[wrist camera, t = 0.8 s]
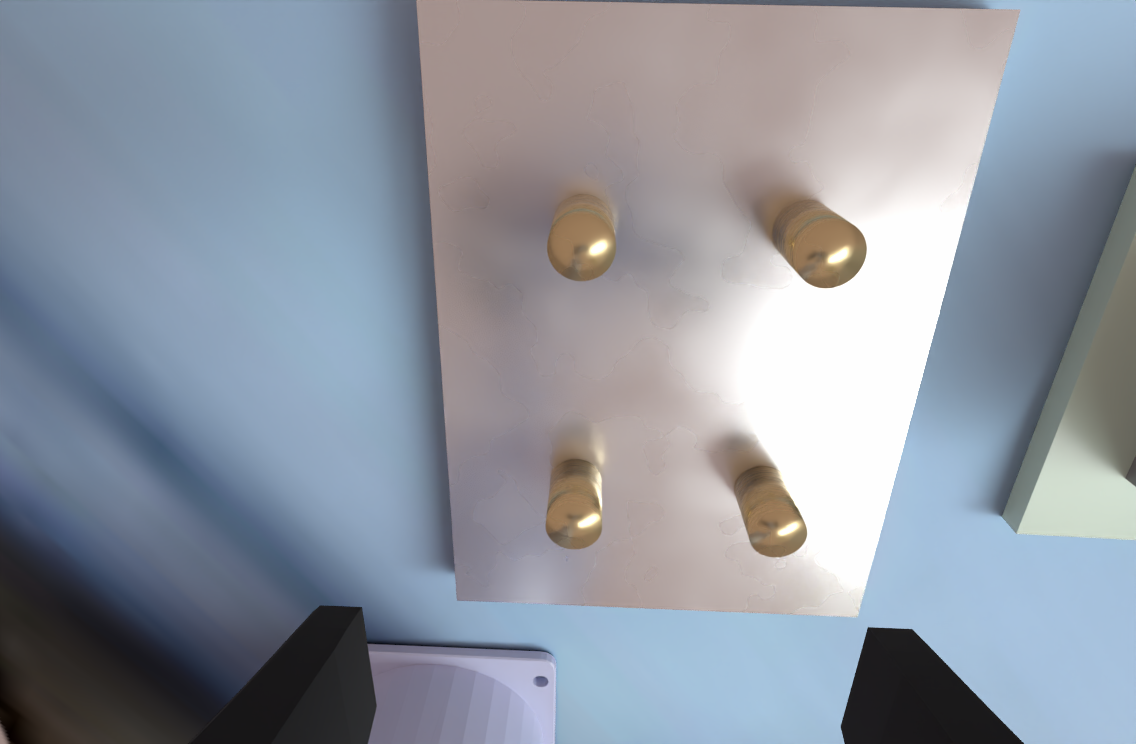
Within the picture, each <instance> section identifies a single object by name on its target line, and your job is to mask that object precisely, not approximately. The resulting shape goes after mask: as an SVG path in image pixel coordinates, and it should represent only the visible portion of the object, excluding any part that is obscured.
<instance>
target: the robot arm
mask: <svg viewBox="0 0 1136 744" xmlns="http://www.w3.org/2000/svg"><path fill="white" fill-rule="evenodd" d="M538 676H543V677H538ZM555 711H556V660H555V658H554V657H553V656H552V655H551V654H549V653H547V652H542V651H520V650H497V649H474V648H452V647H429V646H406V645H384V644H367V638H366V631H365V625H364V618H363V612H362V607H344V606H319V607H318V608H317V609H316V610H314V611H313V612H312V613H311V615H310V616H309V617H308V618H307V619H306V620H305V621H304V622H303V623H302V624H301V625H300V626H299V628H298V629H297V630H296V631H295V632H294V633H293V634H292V635H291V636H290V637H289V638H288V640H287V641H286V642H285V643H284V644H283V645H282V646H281V647H280V648H279V649H278V650H277V652H276V653H275V654H274V655H273V656H272V657H271V658H270V659H269V660H268V661H267V662H266V663H265V665H264V666H263V667H262V668H261V669H260V670H259V671H258V672H257V673H256V674H255V675H254V676H253V677H252V678H251V679H250V681H249V682H248V683H247V684H246V685H245V686H244V687H243V688H242V689H241V690H240V691H239V692H238V693H237V694H236V695H235V696H234V697H233V698H232V699H231V700H230V701H229V702H228V703H227V704H226V705H225V707H224V708H223V709H222V710H221V711H220V712H219V713H218V714H217V715H216V716H215V717H214V718H213V719H212V720H211V721H210V722H209V723H208V724H207V725H206V726H205V727H204V728H203V729H202V730H201V731H200V732H199V733H198V734H197V735H196V736H195V737H194V738H193V739H192V740H191V741H190V742H189V743H188V744H555ZM841 730H842V734H843V738H844V742H845V744H1024V743H1023V742H1022V741H1021V740H1020V739H1019V738H1018V737H1017V736H1016V735H1015V734H1014V733H1013V732H1012V731H1011V730H1010V729H1009V728H1008V727H1007V726H1006V725H1005V724H1004V723H1003V722H1002V721H1001V720H1000V719H999V718H998V717H997V716H996V715H995V714H994V713H993V712H992V711H991V710H990V709H989V708H988V707H987V706H986V705H985V704H984V702H983V701H982V700H981V699H980V698H979V697H978V696H977V695H976V694H975V693H974V692H973V691H972V690H971V689H970V688H969V687H968V686H967V685H966V684H965V683H964V682H963V681H962V680H961V679H960V678H959V677H958V676H957V675H956V674H955V673H954V672H953V671H952V670H951V668H950V667H949V666H948V665H947V664H946V663H945V662H944V661H943V660H942V659H941V658H940V657H939V656H938V655H937V654H936V653H935V652H934V651H933V650H932V649H931V648H930V647H929V646H928V645H927V644H926V643H925V642H924V641H923V640H922V639H921V638H920V637H919V636H918V635H917V634H916V633H915V632H914V631H913V630H912V629H895V628H870V627H868V629H867V633H866V637H865V640H864V644H863V648H862V651H861V655H860V658H859V662H858V666H857V669H856V673H855V677H854V680H853V684H852V688H851V691H850V695H849V698H848V702H847V706H846V709H845V713H844V717H843V720H842V724H841Z"/></svg>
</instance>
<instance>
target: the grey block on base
mask: <svg viewBox="0 0 1136 744" xmlns="http://www.w3.org/2000/svg"><path fill="white" fill-rule="evenodd" d="M1002 518H1003V519H1004V520H1005V521H1006V522H1007V524H1008V525H1009V526H1010V527H1011V528H1012V529H1013V530H1014V532H1015V533H1016V534H1030V535H1049V536H1068V537H1087V538H1106V539H1125V540H1136V166H1135V168H1134V171H1133V174H1132V176H1131V179H1130V181H1129V184H1128V187H1127V189H1126V192H1125V195H1124V197H1123V200H1122V202H1121V205H1120V208H1119V210H1118V213H1117V216H1116V218H1115V221H1114V223H1113V226H1112V229H1111V231H1110V234H1109V237H1108V239H1107V242H1106V244H1105V247H1104V250H1103V252H1102V255H1101V258H1100V260H1099V263H1098V265H1097V268H1096V271H1095V273H1094V276H1093V279H1092V281H1091V284H1090V286H1089V289H1088V292H1087V294H1086V297H1085V300H1084V302H1083V305H1082V307H1081V310H1080V313H1079V315H1078V318H1077V321H1076V323H1075V326H1074V328H1073V331H1072V334H1071V336H1070V339H1069V342H1068V344H1067V347H1066V349H1065V352H1064V355H1063V357H1062V360H1061V363H1060V365H1059V368H1058V370H1057V373H1056V376H1055V378H1054V381H1053V384H1052V386H1051V389H1050V391H1049V394H1048V397H1047V399H1046V402H1045V405H1044V407H1043V410H1042V412H1041V415H1040V418H1039V420H1038V423H1037V426H1036V428H1035V431H1034V433H1033V436H1032V439H1031V441H1030V444H1029V447H1028V449H1027V452H1026V454H1025V457H1024V460H1023V462H1022V465H1021V468H1020V470H1019V473H1018V475H1017V478H1016V481H1015V483H1014V486H1013V489H1012V491H1011V494H1010V496H1009V499H1008V502H1007V504H1006V507H1005V510H1004V512H1003V515H1002Z"/></svg>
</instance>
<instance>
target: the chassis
mask: <svg viewBox="0 0 1136 744" xmlns="http://www.w3.org/2000/svg"><path fill="white" fill-rule="evenodd" d="M416 3H417V18H418V33H419V47H420V62H421V77H422V92H423V106H424V121H425V136H426V151H427V166H428V180H429V195H430V210H431V225H432V239H433V254H434V269H435V284H436V298H437V313H438V328H439V343H440V357H441V372H442V387H443V402H444V417H445V431H446V446H447V461H448V476H449V490H450V505H451V520H452V535H453V550H454V564H455V579H456V594H457V600H459V601H483V602H507V603H531V604H554V605H578V606H602V607H626V608H649V609H673V610H697V611H720V612H744V613H768V614H792V615H815V616H839V617H858V613H859V609H860V606H861V602H862V598H863V594H864V591H865V587H866V583H867V579H868V576H869V572H870V568H871V565H872V561H873V557H874V553H875V550H876V546H877V542H878V538H879V535H880V531H881V527H882V524H883V520H884V516H885V512H886V509H887V505H888V501H889V498H890V494H891V490H892V486H893V483H894V479H895V475H896V471H897V468H898V464H899V460H900V457H901V453H902V449H903V445H904V442H905V438H906V434H907V430H908V427H909V423H910V419H911V416H912V412H913V408H914V404H915V401H916V397H917V393H918V389H919V386H920V382H921V378H922V375H923V371H924V367H925V363H926V360H927V356H928V352H929V348H930V345H931V341H932V337H933V334H934V330H935V326H936V322H937V319H938V315H939V311H940V307H941V304H942V300H943V296H944V293H945V289H946V285H947V281H948V278H949V274H950V270H951V266H952V263H953V259H954V255H955V252H956V248H957V244H958V240H959V237H960V233H961V229H962V225H963V222H964V218H965V214H966V211H967V207H968V203H969V199H970V196H971V192H972V188H973V185H974V181H975V177H976V173H977V170H978V166H979V162H980V158H981V155H982V151H983V147H984V144H985V140H986V136H987V132H988V129H989V125H990V121H991V117H992V114H993V110H994V106H995V103H996V99H997V95H998V91H999V88H1000V84H1001V80H1002V76H1003V73H1004V69H1005V65H1006V62H1007V58H1008V54H1009V50H1010V47H1011V43H1012V39H1013V35H1014V32H1015V28H1016V24H1017V21H1018V17H1019V13H1020V10H1008V9H954V8H901V7H847V6H793V5H740V4H686V3H632V2H579V1H525V0H416Z"/></svg>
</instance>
